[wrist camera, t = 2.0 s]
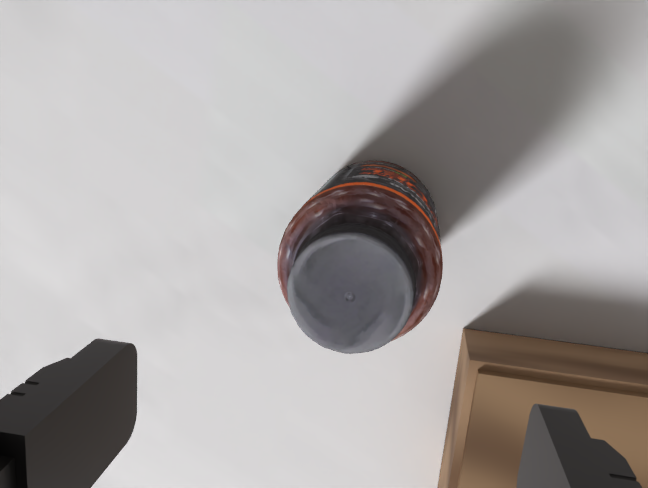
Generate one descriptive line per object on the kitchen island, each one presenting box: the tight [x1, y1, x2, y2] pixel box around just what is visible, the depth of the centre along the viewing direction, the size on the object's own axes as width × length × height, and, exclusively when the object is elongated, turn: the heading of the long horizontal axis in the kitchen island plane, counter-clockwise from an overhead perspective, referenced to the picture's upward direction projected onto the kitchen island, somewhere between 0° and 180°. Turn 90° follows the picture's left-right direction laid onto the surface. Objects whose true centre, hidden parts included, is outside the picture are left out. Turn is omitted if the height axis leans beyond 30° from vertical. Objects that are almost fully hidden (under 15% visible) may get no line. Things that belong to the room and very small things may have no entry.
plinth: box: [438, 328, 648, 488], centre depth 29 cm, size 10×10×4 cm
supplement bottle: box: [278, 161, 443, 354], centre depth 24 cm, size 6×6×11 cm
